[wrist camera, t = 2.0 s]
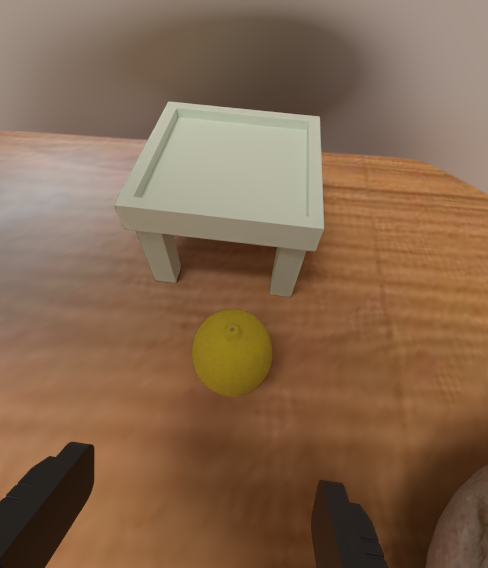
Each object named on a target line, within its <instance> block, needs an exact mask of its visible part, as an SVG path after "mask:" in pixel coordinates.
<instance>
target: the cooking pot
mask: <svg viewBox="0 0 488 568" xmlns="http://www.w3.org/2000/svg"><path fill="white" fill-rule="evenodd" d="M425 568H488V464H487V465H486V466H484V467H482V468H480V469H479V470H477V471H476V472H475V473H474V474H473V475H472V476H471V477H470V478H469V479H468V480H467V481H466V482H465V483H464V484H463V485H462V486H461V487H460V488H459V489H458V490H457V491H456V492H455V493H454V495H453V496H452V498H451V500H450V501H449V503H448V505H447V506H446V508H445V509H444V511H443V513H442V514H441V516H440V518H439V520H438V522H437V525H436V528H435V531H434V534H433V537H432V540H431V543H430V546H429V549H428V553H427V559H426V565H425Z"/></svg>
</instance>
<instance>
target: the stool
mask: <svg viewBox="0 0 488 568" xmlns="http://www.w3.org/2000/svg"><path fill="white" fill-rule="evenodd" d="M320 141H321V139H320V117H317V116H307V115H296V114H287V113H277V112H267V111H257V110H247V109H237V108H227V107H217V106H207V105H197V104H187V103H176V102H168V104H167V105H166V107H165V109H164V111H163V113H162V115H161V117H160V119H159V121H158V122H157V124H156V127H155V128H154V130H153V132H152V134H151V136H150V138H149V139H148V141H147V143H146V145H145V147H144V149H143V151H142V153H141V155H140V156H139V158H138V160H137V162H136V164H135V166H134V168H133V170H132V172H131V173H130V175H129V177H128V179H127V181H126V183H125V185H124V187H123V189H122V190H121V192H120V194H119V196H118V198H117V200H116V202H115V204H114V207H115V209H116V211H117V214H118V216H119V218H120V220H121V223H122V225H123V227H124V229H127V230H135V231H136V233H137V235H138V238H139V240H140V243H141V245H142V248H143V250H144V253H145V255H146V258H147V260H148V263H149V265H150V268H151V270H152V273H153V275H154V278H155V280H156V281H163V282H171V283H176V282H177V279H178V275H179V272H180V269H181V264H180V260H179V256H178V252H177V248H176V244H175V240H174V236H173V235H178V236H187V237H195V238H204V239H212V240H221V241H230V242H238V243H247V244H255V245H264V246H273V247H277V251H276V256H275V261H274V266H273V271H272V276H271V285H270V295H277V296H285V297H291V295H292V292H293V289H294V286H295V283H296V280H297V278H298V275H299V272H300V269H301V266H302V263H303V260H304V257H305V254H306V251H316V249H317V246H318V244H319V241H320V238H321V236H322V233H323V231H324V214H323V189H322V164H321V142H320Z"/></svg>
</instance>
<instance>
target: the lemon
mask: <svg viewBox="0 0 488 568" xmlns="http://www.w3.org/2000/svg"><path fill="white" fill-rule="evenodd" d="M272 357H273V350H272V342H271V339H270V336H269V333H268V331H267V329H266V328H265V326H264V325H263V323H262V322H261V321H260V320H259V319H258V318H256V317H255V316H254V315H252V314H250V313H248V312H247V311H243V310H239V309H227V310H222V311H219V312H217V313H215V314H213V315H212V316H210V317H209V318H208V319H206V320H205V321H204V323H203V324H202V325H201V326H200V327H199V329H198V331H197V333H196V336H195V338H194V342H193V347H192V360H193V365H194V368H195V371H196V374H197V376H198V377H199V379H200V380H201V381H202V383H203V384H204V385H205V386H206V387H208V388H209V389H210V390H211V391H213V392H215V393H217V394H220V395H223V396H229V397H233V396H241V395H244V394H247V393H249V392H251V391H253V390H254V389H255V388H257V387H258V386H259V385H260V384H261V383H262V381H263V380H264V379H265V378H266V376H267V374H268V372H269V369H270V367H271V363H272Z"/></svg>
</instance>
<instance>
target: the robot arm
mask: <svg viewBox="0 0 488 568" xmlns="http://www.w3.org/2000/svg"><path fill="white" fill-rule="evenodd" d="M93 484H94V446H93V445H91V444H84V443H78V442H70V443H68V444H67V445H66V446H65V447H64V449H63V450H62V451H61V452H60V453H59V454H58V455H57V456H56V457H52V456H49V457H47V458H46V459H44V460H43V461H41V462H40V463H38V464H37V465H35V466H34V467H32V468H31V469H30V470H29V471H28V472H27V474H26V475H25V476H24V477H23V478H22V479H21V480H20V481H19V482H18V484H17V486H16V485H15V486H14V487H13V488H12V489H11V491H10V492H9V493H8V494H7V495H6V497H5V498H3V499H2V500H1V501H0V568H45V567H46V565H47V563H48V562H49V560H50V559H51V557H52V556H53V554H54V552H55V551H56V549H57V548H58V546H59V545H60V543H61V541H62V540H63V538H64V537H65V535H66V533H67V532H68V530H69V529H70V527H71V526H72V524H73V522H74V521H75V519H76V518H77V516H78V514H79V513H80V511H81V510H82V508H83V507H84V505H85V503H86V502H87V500H88V498H89V496H90V494H91V491H92V488H93ZM311 531H312V540H313V547H314V553H315V560H316V566H317V568H388V565H387V563H386V561H385V560H384V554H383V552H382V549H381V546H380V544H379V543H378V538H377V535H376V532H375V529H374V527H373V524H372V521H371V520H370V518H369V517H368V516H367V514H366V513H365V511H364V510H363V509H362V507H361V506H360V505H359V504H354V503H349V500H348V497H347V494H346V490H345V487H344V485H343V484H342V483H338V482H332V481H325V480H320V481H319V483H318V488H317V492H316V497H315V502H314V507H313V512H312V520H311Z"/></svg>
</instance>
